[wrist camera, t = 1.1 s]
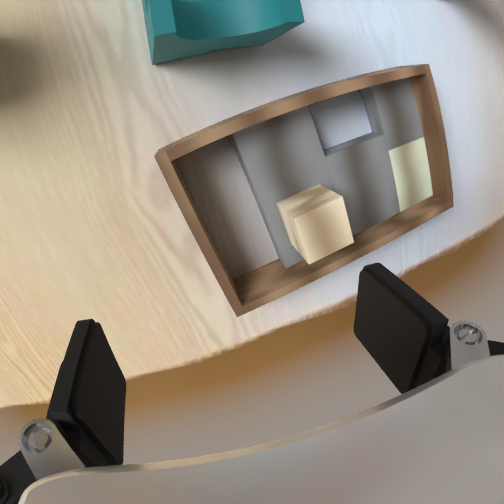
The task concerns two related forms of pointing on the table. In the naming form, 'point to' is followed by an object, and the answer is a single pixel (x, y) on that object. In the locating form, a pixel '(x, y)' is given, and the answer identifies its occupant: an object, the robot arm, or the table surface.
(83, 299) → the table surface
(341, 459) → the robot arm
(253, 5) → the teal l-shaped bracket
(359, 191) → the box
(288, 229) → the block
